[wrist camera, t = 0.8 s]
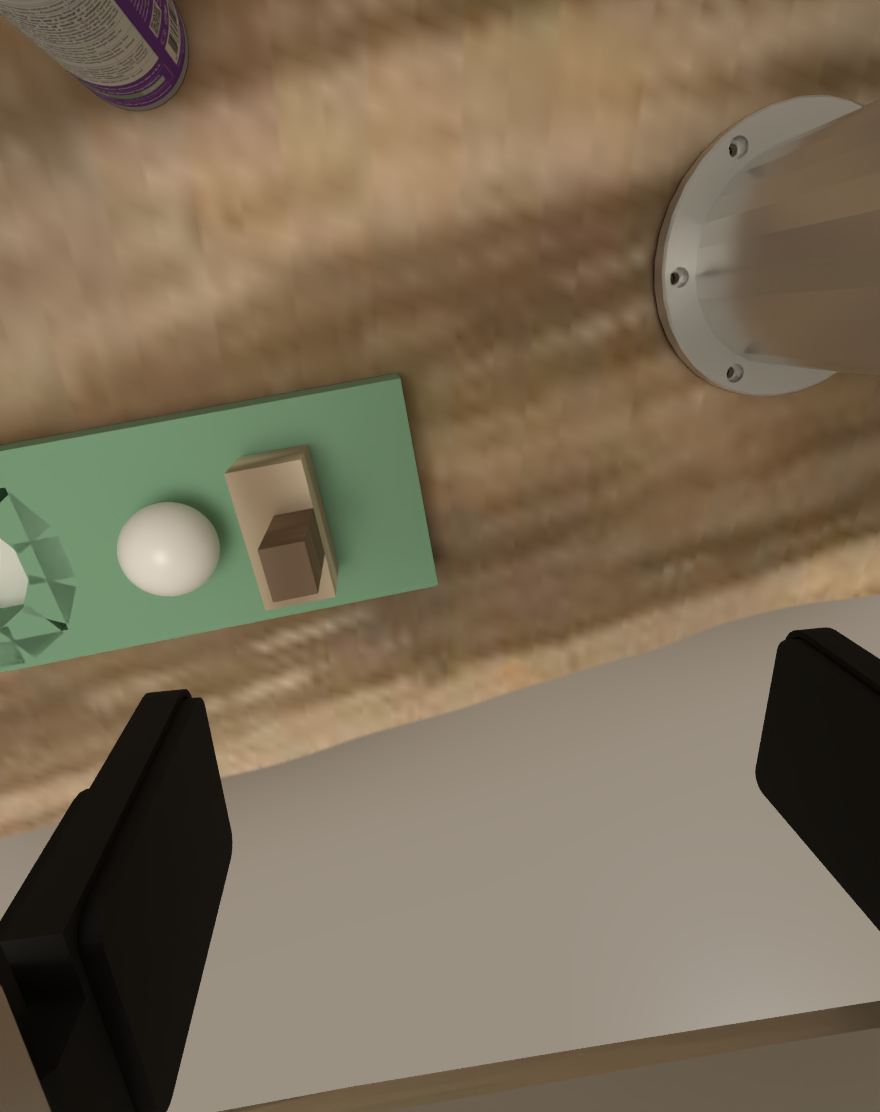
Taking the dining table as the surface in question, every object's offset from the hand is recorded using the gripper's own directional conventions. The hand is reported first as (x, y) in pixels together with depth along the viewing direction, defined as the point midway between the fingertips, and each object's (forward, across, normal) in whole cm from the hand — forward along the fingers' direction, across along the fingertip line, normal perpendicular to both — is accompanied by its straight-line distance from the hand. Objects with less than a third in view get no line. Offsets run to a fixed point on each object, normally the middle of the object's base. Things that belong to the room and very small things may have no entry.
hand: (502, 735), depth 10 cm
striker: (+19, +6, +2) cm, 20 cm away
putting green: (+22, +14, +3) cm, 26 cm away
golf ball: (+18, +11, +2) cm, 21 cm away
